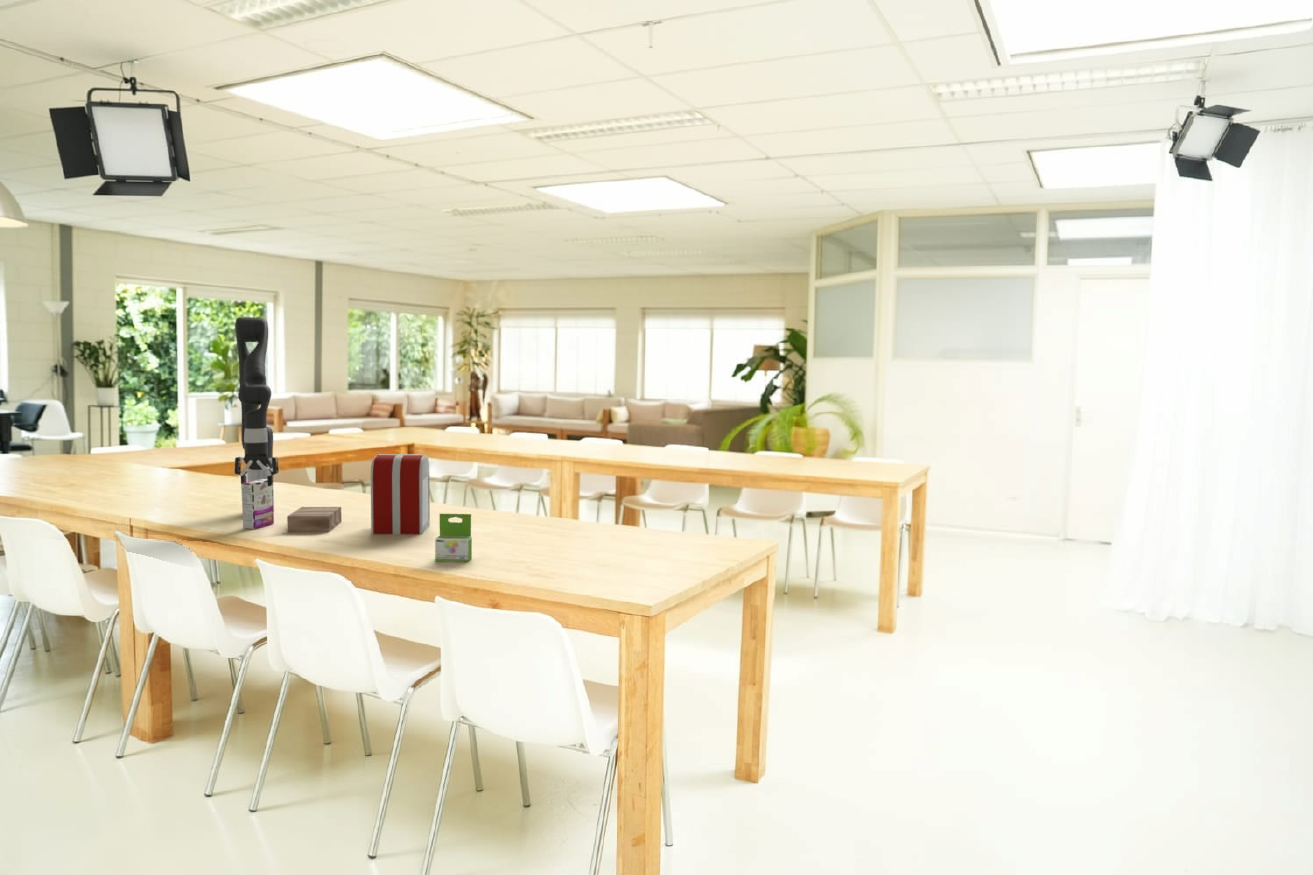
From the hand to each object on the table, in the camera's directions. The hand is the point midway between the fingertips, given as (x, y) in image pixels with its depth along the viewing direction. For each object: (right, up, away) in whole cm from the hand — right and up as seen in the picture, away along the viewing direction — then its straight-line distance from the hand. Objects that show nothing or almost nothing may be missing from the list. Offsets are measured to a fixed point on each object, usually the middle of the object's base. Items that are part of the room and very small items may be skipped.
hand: (257, 486), depth 309 cm
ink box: (+80, -21, -42) cm, 92 cm away
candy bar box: (0, -15, +2) cm, 15 cm away
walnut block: (+20, -15, +3) cm, 25 cm away
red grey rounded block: (+51, -16, +1) cm, 53 cm away
